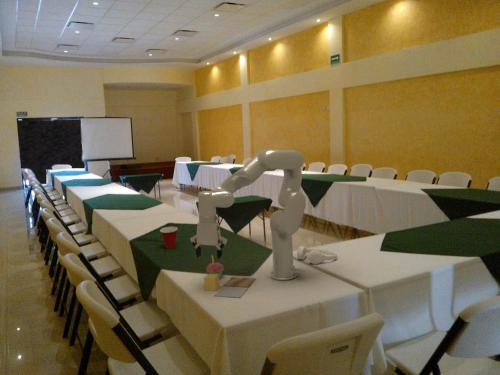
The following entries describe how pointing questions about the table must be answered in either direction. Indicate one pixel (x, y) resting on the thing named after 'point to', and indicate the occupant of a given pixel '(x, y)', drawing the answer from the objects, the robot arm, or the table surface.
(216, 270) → the cupcake
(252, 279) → the walnut mat
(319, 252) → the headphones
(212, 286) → the mustard block
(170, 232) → the plastic cup
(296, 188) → the robot arm
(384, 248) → the table surface
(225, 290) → the grey mat
